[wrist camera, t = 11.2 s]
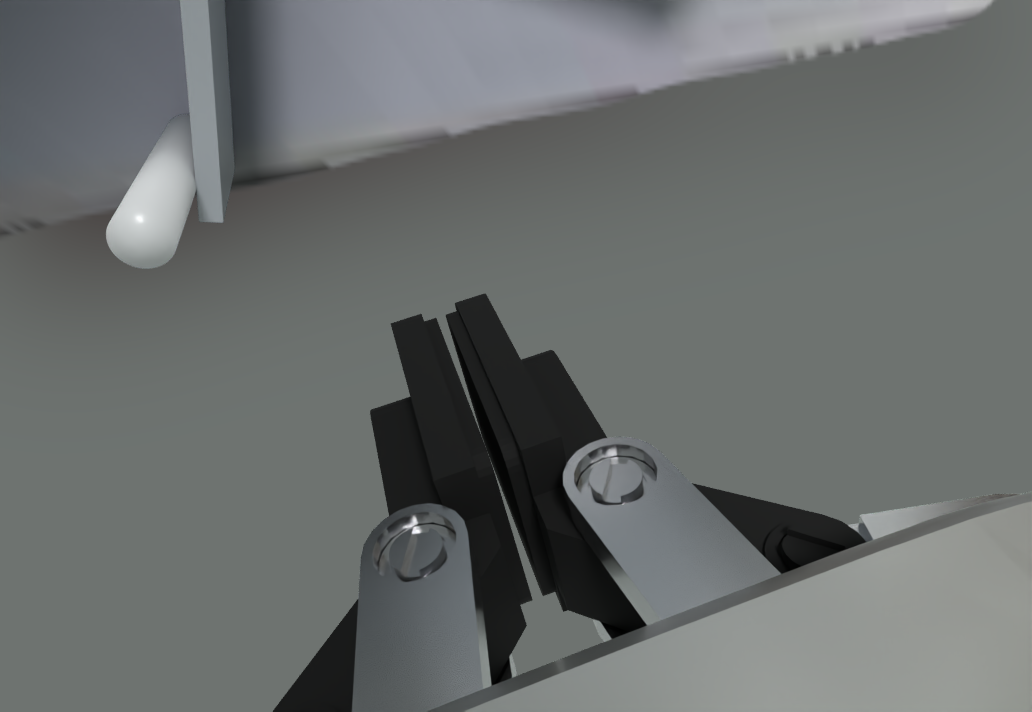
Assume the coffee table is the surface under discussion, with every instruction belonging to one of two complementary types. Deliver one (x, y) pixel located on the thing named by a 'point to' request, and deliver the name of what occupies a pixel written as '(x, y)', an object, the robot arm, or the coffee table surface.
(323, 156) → the coffee table surface
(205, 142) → the side door
